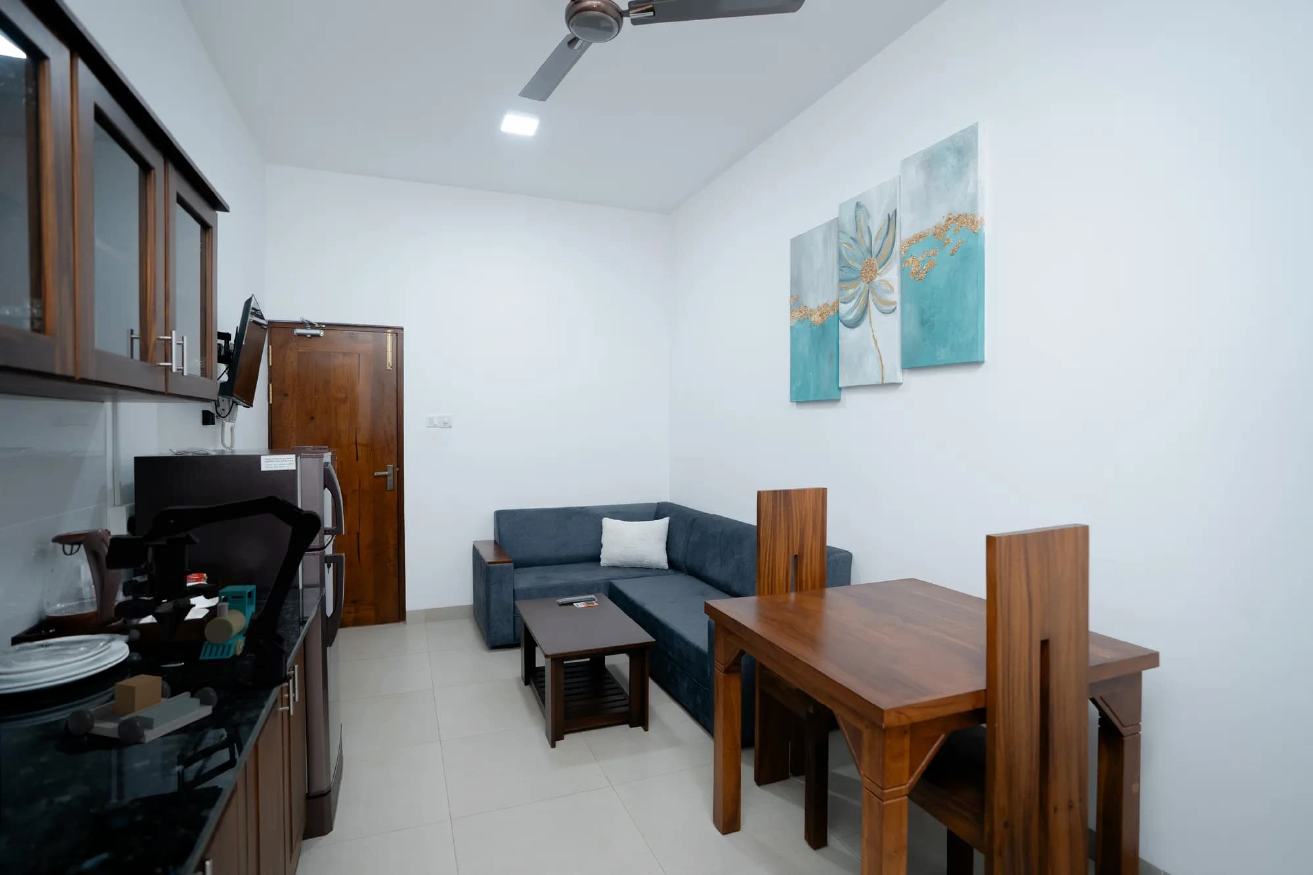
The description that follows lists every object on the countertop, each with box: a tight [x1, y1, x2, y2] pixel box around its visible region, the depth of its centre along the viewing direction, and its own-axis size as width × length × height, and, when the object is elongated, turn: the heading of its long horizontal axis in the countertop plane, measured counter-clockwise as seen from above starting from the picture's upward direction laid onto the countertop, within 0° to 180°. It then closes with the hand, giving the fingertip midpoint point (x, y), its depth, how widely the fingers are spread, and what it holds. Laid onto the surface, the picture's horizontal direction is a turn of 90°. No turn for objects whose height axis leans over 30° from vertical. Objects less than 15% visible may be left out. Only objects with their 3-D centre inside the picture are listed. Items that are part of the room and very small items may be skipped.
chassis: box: [67, 680, 218, 746], centre depth 123 cm, size 16×17×4 cm
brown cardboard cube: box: [114, 674, 162, 716], centre depth 124 cm, size 5×5×6 cm
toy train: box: [198, 584, 256, 660], centre depth 163 cm, size 8×17×15 cm, turn 14°
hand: (169, 640), depth 135 cm, fingers closed
